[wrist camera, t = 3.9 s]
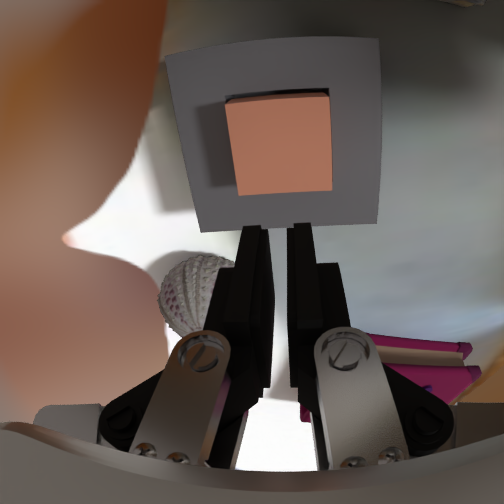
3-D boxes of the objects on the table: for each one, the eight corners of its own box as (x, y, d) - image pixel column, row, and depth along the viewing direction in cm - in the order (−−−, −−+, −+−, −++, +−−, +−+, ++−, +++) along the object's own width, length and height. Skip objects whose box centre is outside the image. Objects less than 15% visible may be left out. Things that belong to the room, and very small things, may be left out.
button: (323, 92, 21) (329, 96, 18) (327, 175, 25) (332, 190, 22) (231, 99, 22) (224, 104, 19) (243, 180, 26) (238, 195, 23)
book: (415, 399, 56) (421, 428, 50) (299, 393, 55) (298, 428, 49) (472, 341, 44) (485, 374, 38) (341, 326, 43) (347, 369, 37)
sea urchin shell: (146, 270, 39) (123, 314, 33) (231, 229, 35) (219, 275, 28) (203, 332, 45) (192, 376, 39) (285, 306, 41) (284, 354, 34)
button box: (360, 41, 21) (378, 38, 17) (363, 197, 31) (376, 223, 26) (185, 55, 24) (164, 56, 19) (212, 205, 33) (200, 232, 28)
